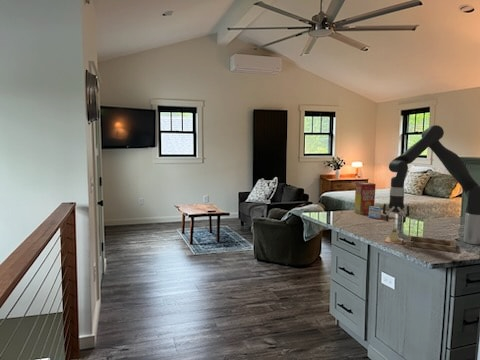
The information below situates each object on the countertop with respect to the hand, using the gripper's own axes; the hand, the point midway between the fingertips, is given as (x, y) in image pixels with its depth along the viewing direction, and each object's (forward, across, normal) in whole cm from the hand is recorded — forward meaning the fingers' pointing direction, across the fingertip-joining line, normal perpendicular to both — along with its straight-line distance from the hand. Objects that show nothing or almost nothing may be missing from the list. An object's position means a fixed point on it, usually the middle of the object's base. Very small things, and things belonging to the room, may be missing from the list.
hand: (395, 222), depth 211 cm
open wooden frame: (+11, -19, 0) cm, 22 cm away
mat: (+11, 0, 0) cm, 11 cm away
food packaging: (+11, +29, -80) cm, 86 cm away
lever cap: (+11, 0, 0) cm, 11 cm away
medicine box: (+11, +19, -65) cm, 69 cm away
